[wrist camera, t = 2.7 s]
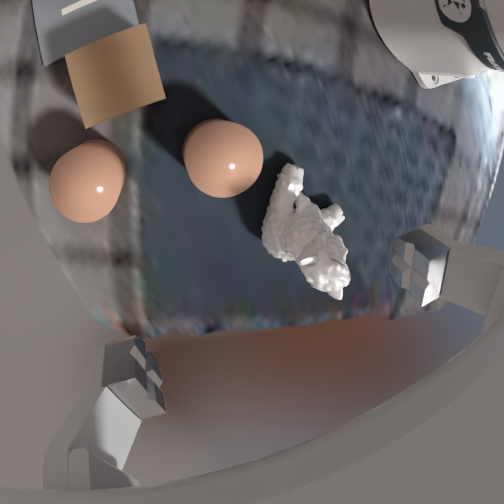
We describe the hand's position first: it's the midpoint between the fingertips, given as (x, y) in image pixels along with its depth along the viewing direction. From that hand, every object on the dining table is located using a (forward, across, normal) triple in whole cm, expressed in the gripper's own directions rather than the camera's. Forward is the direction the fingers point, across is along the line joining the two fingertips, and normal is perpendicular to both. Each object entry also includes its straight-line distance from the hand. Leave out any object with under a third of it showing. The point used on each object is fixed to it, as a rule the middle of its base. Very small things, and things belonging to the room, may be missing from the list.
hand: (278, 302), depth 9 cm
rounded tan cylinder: (+21, -2, 0) cm, 21 cm away
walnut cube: (+21, +4, -9) cm, 24 cm away
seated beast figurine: (+21, -8, +9) cm, 25 cm away
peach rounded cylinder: (+21, +9, -2) cm, 23 cm away
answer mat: (+21, +6, -18) cm, 28 cm away
